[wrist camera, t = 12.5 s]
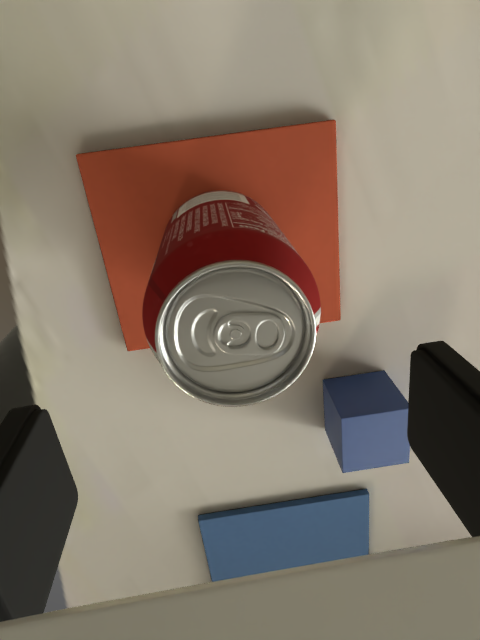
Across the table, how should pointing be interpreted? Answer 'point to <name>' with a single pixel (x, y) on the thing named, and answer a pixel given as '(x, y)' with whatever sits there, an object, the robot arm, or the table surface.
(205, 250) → the soda can
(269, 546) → the blue mat
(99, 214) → the orange mat
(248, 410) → the table surface
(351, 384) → the blue block
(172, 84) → the table surface
